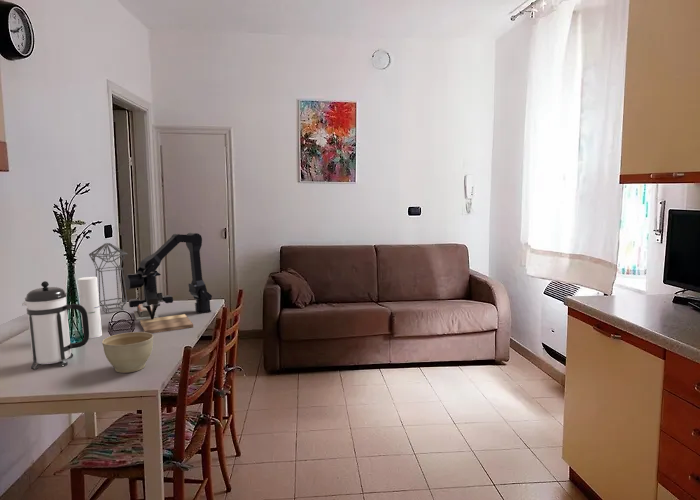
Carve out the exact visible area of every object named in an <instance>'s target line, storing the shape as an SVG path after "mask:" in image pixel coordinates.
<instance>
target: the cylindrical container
mask: <svg viewBox="0 0 700 500" xmlns="http://www.w3.org/2000/svg"><path fill="white" fill-rule="evenodd" d="M77 282H78V283H77V284H78V292H79V293H78V294H79V302H80V303H79V305H81V306H83V307H84V308H85V310H86V312H87V315H88V324H89V339H95V338H99V337H101V336H103V333H102V329H103V328H102V320H101V308H100V307H101V306H99V282H98V276H97V277H96V276H83V277H80V278H77ZM80 316H81V318H82V314H81V313H80ZM81 326H82V327H83V322H82V321H81Z"/></svg>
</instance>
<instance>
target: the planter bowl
mask: <svg viewBox="0 0 700 500" xmlns="http://www.w3.org/2000/svg"><path fill="white" fill-rule="evenodd" d="M101 344H102V346H103V352H104V355H105V357H106V359H107V361H108V362H109V363H110V365H111V366H112V367H113V368H114V372H117V373H125V374H126V373H134V372H138V371H140V370H143V369H144V368H145V367H146V363H147V362H148V360H149V358H150V356H151V354H152V352H153V348H154V347H153V346H154V333H147V332H144V331H132V332H124V333H118V334H114V335H110V336H108V337H106V338H103V340H102V342H101Z"/></svg>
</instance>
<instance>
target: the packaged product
mask: <svg viewBox="0 0 700 500" xmlns="http://www.w3.org/2000/svg"><path fill="white" fill-rule="evenodd" d="M150 307H151V312H152V305H150ZM133 314H134V319H135V320H136V322H140V320H144V319H151V317H150V315H149V312H148V310H147V308H144V307H143V306H142V304H139V306H138V307H136V310H133ZM154 318H159V315H158V313H157V312H155V315H154Z"/></svg>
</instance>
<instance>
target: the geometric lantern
mask: <svg viewBox="0 0 700 500" xmlns="http://www.w3.org/2000/svg"><path fill="white" fill-rule="evenodd" d="M110 247H111V248H112V249H113V250H114V251H111V248H110ZM117 253H119V254H117ZM126 255H129V254H128V253H127V252H126V251H124V250H123V249H121V248H119V247H117V246H116V245H113V243H110V242H106V243H103V244H102V245H101V246H98V248H96V249H95V250H93V251H92V252H90V253H88V256H89V257H90V259H91V261H92V263H93V265H94V268H95V277H97V278H98V294H99V306H100V307H101V310H102V311H103V312H104V313H106V314H112V313H118V312H117V311H118V310H115V311H110V310H112V309H120V310H123V311H124V306H125V305H127V303H128V298H127V288H126V286H125V278H124V268H123V267H122V262H123V260H125V258H126V257H125V256H126ZM114 257H116V258H114ZM96 258H98V259H99V260H101V263H100V265H98V264H97V262H96ZM111 258H112V260H111ZM119 258H120V262H119V265H118V264H117V262H116V260H118V259H119ZM103 262H105V263H104V265H103V266H102V264H103ZM108 263H111V264H112V265H113V266H108V267H105V266H106V264H108ZM112 268H115V277H116V278H115V279H116V289H117V292H116V293H117V294H116V295H117V298H110V299H106V296H105V294H106V293H105V288H104V287H105V286H104V278H103V272H110V271H112V272H113V271H114V269H112ZM105 269H107V270H105ZM121 275H122V277H121ZM118 277H119V279H118ZM118 280H119V281H118ZM118 282H119V283H118ZM122 282H123V283H122ZM101 284H102V294H103V300H101ZM119 284H120V289H121V297H119ZM124 296H125V297H124ZM114 300H117V301H116V302H115V303H108V304H106V302H109V301H114ZM119 300H121V301H120V302H119ZM102 302H103V303H102ZM111 306H115V307H111Z"/></svg>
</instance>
